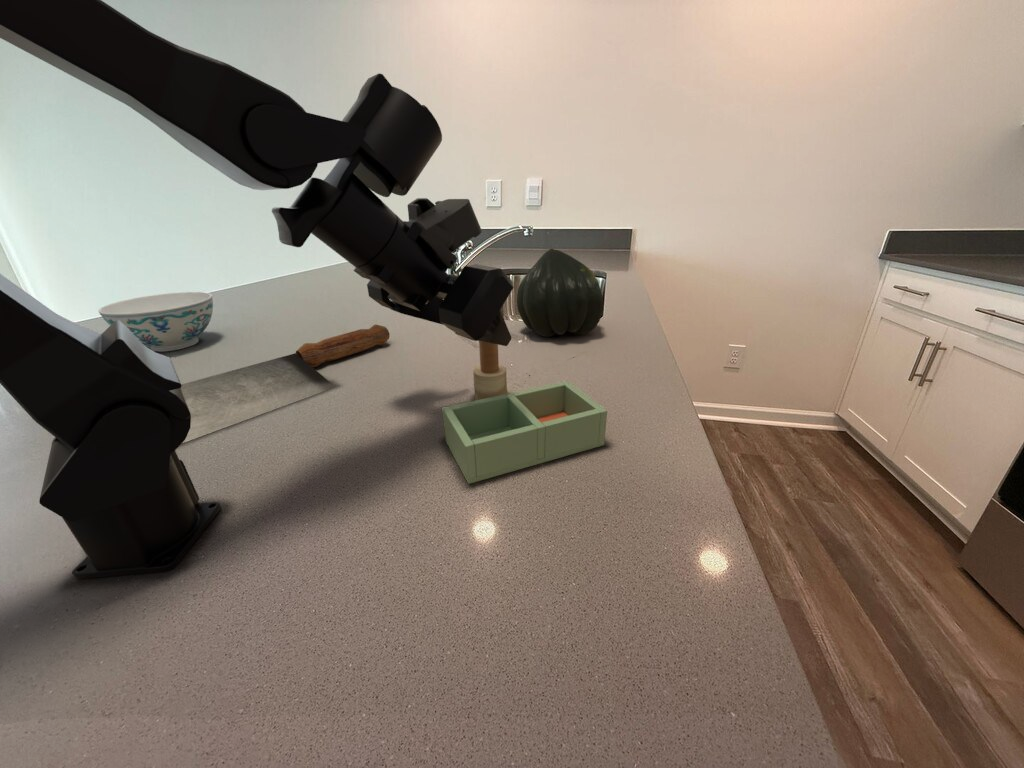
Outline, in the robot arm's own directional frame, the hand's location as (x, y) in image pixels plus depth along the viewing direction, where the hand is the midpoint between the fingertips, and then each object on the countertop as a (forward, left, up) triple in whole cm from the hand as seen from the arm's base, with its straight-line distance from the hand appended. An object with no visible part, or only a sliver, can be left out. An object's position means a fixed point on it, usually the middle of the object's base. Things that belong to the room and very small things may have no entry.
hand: (481, 332), depth 46 cm
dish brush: (+1, -1, -9) cm, 9 cm away
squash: (+26, -14, -9) cm, 31 cm away
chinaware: (+29, +54, -9) cm, 62 cm away
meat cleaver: (+10, +25, -9) cm, 29 cm away
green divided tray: (-10, -4, -9) cm, 14 cm away
